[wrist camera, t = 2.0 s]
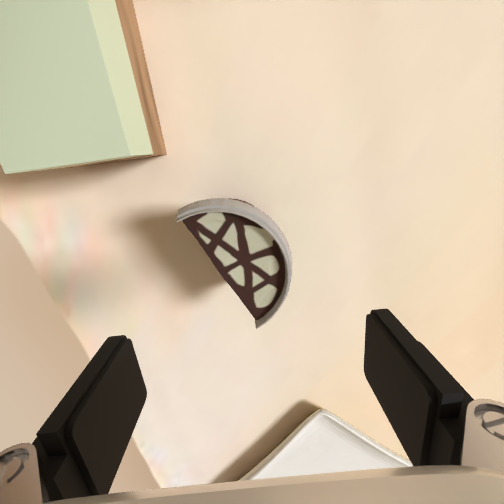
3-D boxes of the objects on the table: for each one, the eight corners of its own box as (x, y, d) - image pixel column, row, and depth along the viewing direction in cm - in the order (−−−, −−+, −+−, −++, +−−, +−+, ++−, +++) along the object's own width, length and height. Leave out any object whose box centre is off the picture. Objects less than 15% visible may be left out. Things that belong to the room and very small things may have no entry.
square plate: (437, 461, 46) (453, 488, 43) (327, 538, 54) (333, 566, 50) (317, 389, 40) (324, 414, 36) (211, 487, 48) (208, 515, 44)
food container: (300, 256, 32) (322, 300, 23) (256, 281, 33) (259, 333, 24) (244, 162, 28) (242, 169, 19) (195, 194, 29) (171, 215, 20)
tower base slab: (126, -34, 23) (95, -80, 18) (167, 154, 28) (152, 155, 24) (22, -18, 23) (-34, -59, 19) (82, 165, 29) (50, 169, 24)
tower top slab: (94, -82, 18) (42, -160, 14) (153, 154, 24) (130, 155, 19) (-35, -59, 19) (-128, -128, 14) (52, 169, 24) (5, 174, 19)
